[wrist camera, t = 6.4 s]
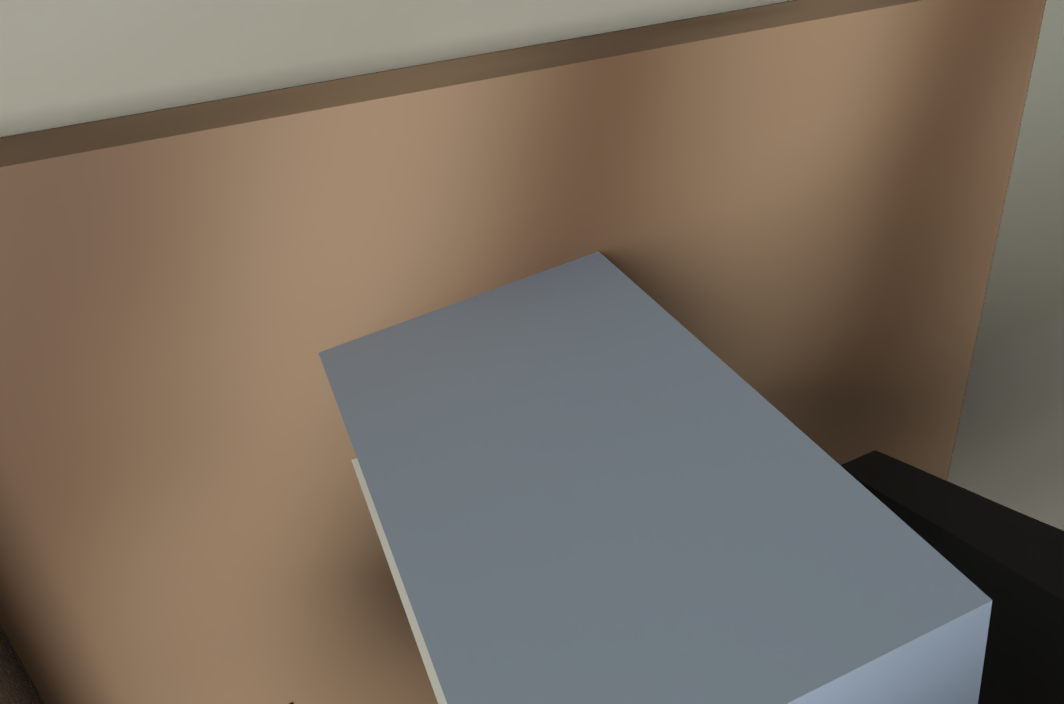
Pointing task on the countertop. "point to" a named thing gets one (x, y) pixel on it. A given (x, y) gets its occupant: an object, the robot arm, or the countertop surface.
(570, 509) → the carton
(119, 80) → the countertop surface
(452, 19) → the countertop surface
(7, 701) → the price rail
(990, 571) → the robot arm
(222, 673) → the shelf board
